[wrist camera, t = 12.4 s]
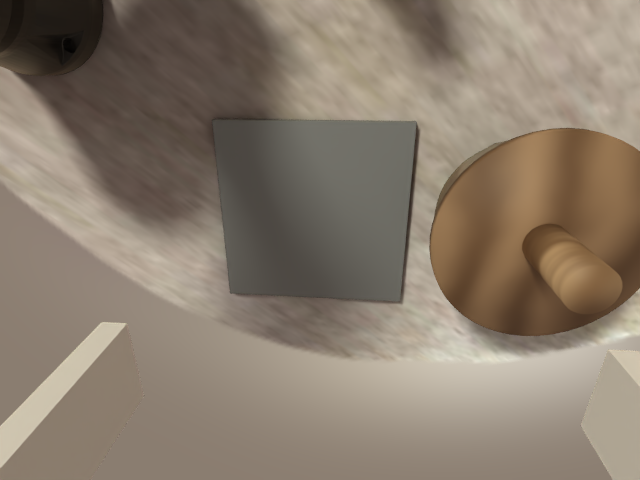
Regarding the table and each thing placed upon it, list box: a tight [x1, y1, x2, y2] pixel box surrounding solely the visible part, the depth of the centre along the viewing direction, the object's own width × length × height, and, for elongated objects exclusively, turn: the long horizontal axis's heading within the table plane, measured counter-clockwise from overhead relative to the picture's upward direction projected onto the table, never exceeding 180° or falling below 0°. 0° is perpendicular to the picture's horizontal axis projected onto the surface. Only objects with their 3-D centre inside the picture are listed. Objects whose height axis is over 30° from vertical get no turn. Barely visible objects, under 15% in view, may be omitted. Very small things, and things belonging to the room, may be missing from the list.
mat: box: [212, 119, 417, 301], centre depth 49 cm, size 22×22×1 cm
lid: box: [430, 128, 640, 336], centre depth 33 cm, size 20×20×9 cm
